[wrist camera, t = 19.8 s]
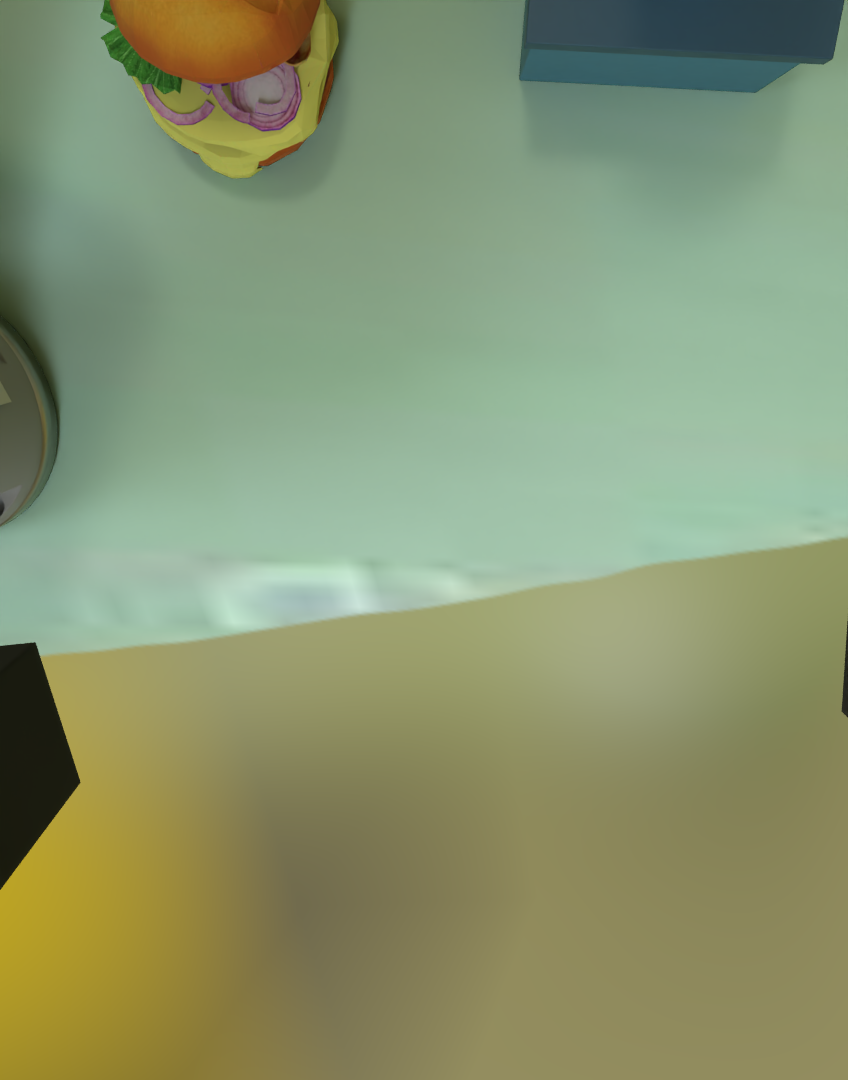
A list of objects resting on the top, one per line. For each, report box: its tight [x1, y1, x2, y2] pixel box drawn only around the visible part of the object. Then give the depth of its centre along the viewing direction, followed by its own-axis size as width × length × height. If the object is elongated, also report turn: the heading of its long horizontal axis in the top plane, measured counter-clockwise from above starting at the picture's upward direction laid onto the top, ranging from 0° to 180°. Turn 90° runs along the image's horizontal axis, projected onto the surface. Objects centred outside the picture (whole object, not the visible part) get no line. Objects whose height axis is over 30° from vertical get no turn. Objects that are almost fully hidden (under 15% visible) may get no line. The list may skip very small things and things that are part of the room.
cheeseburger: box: [100, 0, 339, 178], centre depth 33 cm, size 10×11×10 cm
